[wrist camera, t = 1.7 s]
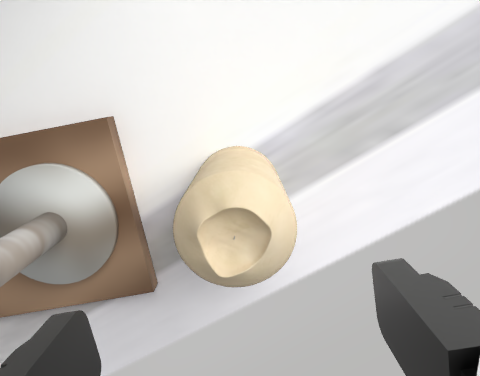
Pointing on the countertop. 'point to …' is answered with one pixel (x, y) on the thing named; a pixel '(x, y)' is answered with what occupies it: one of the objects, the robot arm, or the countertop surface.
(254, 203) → the candle
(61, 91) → the countertop surface
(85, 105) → the countertop surface
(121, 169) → the board
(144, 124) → the countertop surface
